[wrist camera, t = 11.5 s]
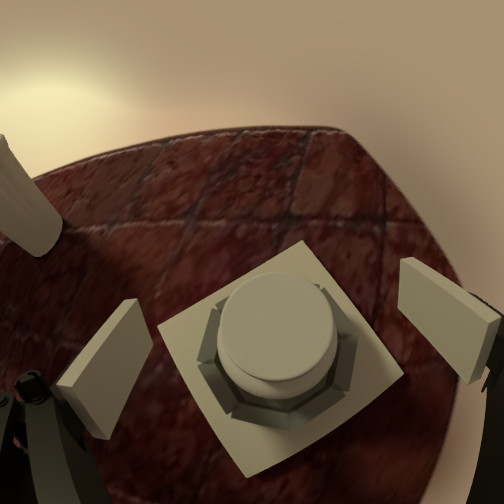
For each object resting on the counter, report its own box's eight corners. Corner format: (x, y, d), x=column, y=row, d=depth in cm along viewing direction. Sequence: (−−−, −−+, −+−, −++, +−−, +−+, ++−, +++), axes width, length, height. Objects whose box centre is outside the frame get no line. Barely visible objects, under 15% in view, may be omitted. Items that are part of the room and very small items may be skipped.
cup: (75, 202, 29) (13, 121, 17) (62, 259, 25) (-23, 179, 13) (35, 217, 29) (-25, 151, 17) (21, 270, 25) (-55, 206, 13)
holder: (164, 330, 21) (139, 315, 17) (301, 249, 23) (304, 218, 19) (249, 472, 15) (240, 492, 11) (396, 374, 17) (422, 369, 13)
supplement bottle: (334, 356, 17) (384, 321, 9) (276, 412, 16) (272, 436, 7) (279, 304, 20) (277, 228, 11) (222, 355, 18) (168, 320, 10)
